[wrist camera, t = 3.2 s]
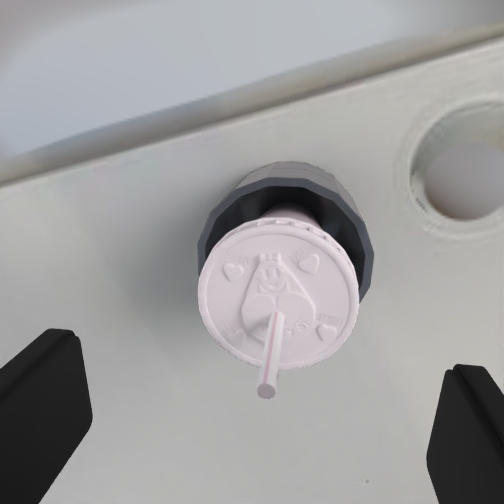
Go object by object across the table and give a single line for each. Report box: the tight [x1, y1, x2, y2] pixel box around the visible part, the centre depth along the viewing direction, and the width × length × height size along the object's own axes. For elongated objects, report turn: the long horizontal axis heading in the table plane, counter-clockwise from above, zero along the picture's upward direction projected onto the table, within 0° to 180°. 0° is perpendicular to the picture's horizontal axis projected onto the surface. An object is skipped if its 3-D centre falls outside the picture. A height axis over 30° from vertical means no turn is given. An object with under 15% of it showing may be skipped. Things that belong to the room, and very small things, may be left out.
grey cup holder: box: [197, 162, 374, 304], centre depth 21 cm, size 8×8×6 cm
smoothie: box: [197, 202, 359, 399], centre depth 17 cm, size 6×6×14 cm
